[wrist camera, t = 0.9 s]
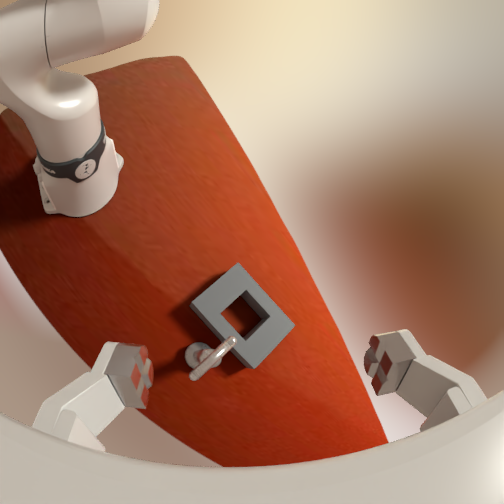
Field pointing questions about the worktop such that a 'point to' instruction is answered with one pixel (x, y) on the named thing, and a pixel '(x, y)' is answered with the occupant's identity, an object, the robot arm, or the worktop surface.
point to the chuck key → (206, 356)
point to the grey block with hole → (242, 284)
